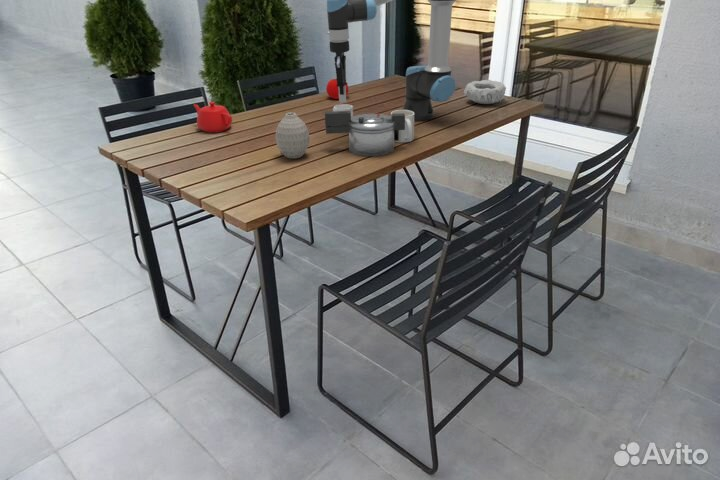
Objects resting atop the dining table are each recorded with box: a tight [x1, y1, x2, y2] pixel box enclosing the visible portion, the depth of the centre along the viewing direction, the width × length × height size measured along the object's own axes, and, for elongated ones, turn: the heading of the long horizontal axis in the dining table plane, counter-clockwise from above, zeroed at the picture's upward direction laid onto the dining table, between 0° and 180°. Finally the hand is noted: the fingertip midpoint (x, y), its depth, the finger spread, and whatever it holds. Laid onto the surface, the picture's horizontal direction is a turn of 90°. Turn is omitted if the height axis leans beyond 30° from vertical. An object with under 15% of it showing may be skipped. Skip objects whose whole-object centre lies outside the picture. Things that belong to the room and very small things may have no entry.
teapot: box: [193, 101, 233, 133], centre depth 244 cm, size 25×16×12 cm, turn 53°
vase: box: [275, 112, 310, 160], centre depth 209 cm, size 13×13×17 cm
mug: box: [390, 109, 415, 143], centre depth 225 cm, size 10×12×11 cm
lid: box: [324, 110, 405, 131], centre depth 213 cm, size 31×19×5 cm, turn 92°
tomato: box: [326, 78, 350, 100], centre depth 288 cm, size 12×12×10 cm
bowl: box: [463, 79, 507, 105], centre depth 274 cm, size 21×20×10 cm
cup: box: [332, 103, 354, 117], centre depth 241 cm, size 8×12×10 cm
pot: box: [324, 123, 405, 157], centre depth 216 cm, size 31×19×10 cm, turn 96°
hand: (342, 101), depth 220 cm, fingers closed
